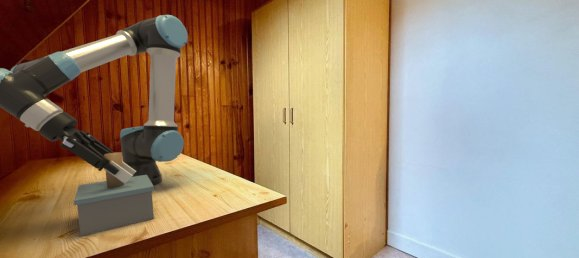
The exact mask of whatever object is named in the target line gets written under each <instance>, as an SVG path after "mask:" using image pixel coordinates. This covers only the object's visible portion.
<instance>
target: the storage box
mask: <svg viewBox="0 0 579 258" xmlns="http://www.w3.org/2000/svg"><path fill="white" fill-rule="evenodd" d="M76 207H77V215H78V225H79V233H80V235H79V236H80V237H84V236H87V235H88V236H89V235H92V234H95V233H101V232H104V231H108V230H112V229H116V228H121V227H126V226H129V225H132V224H133V225H134V224H136V223H137V224H138V223H141V222H144V221H149V220H153V219H155V215H154V214H155V213H154V201H153V191H149V192H144V193H139V194H133V195H128V196H123V197H117V198H112V199H107V200H101V201H96V202H91V203H85V204H80V205H76Z"/></svg>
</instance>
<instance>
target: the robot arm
mask: <svg viewBox="0 0 579 258" xmlns="http://www.w3.org/2000/svg"><path fill="white" fill-rule="evenodd" d="M188 39H189V37H188V31H187V28H186V27H185V25H184V24H183V23H182V21H181V20H180V19H179V18H178V17H176V16H174V15H170V14H164V15H161V14H160V15H158V16H156V17H152V18H148V19H144V20H141V21H139V22H136V23H135V24H132V25H131V26H128V27H126V28H123V29H120V30H117V32H116V33H115V34H114V35H111V36H108V37H105V38H104V37H103V38H102V39H98V40H96V41H92V42H88V43H86V44H82V45H78V46H75V47H73V48H68V49H65V50H63V51H56V52H54V53H51V54H48V55H47V56H43V57H40V58H37V59H33V60H30V61H26V62H23V63H18V64H16V65H15V66H12V68H11V69H10V70H9V69H6V68H3V67H2V68H1V67H0V109H3V110H4V111H5V112H7V113H9V114H10V115H12V116H13V117H14V118H16V119H18V120H19V121H20V122H22V123H24V127H26V128H31V129H32V130H33V131H37V132H39V135H41V137H44V138H45V139H47V140H48V141H50V142H57V141H59V140H60V141H62V142H61V144H59V145H60V147H61V148H64V149H66V150H68V151H70V152H71V153H72V154H74V155H75V156H76V157H78V158H80V159H81V160H82V161H85V162H86V163H88V164H89V165H90V166H91V167H93V168H95V169H97V171H99V172H102V170H106V171H107V172H109V173H110V174H112V175H113V176H115V177H116V178H117V179H119V180H120V181H122V182H123V183H126V182H127V181H128V180H129V179H130V178H131V177H135V176H141V175H147V176H148V178H149V179H150V181H151V183H152V184H153V186H156V185H158V184H161V182H162V181H163V176H162V173H161V170H160V169H159V166H158V164H157V162H158V163H159V162H160V163H162V162H163V163H164V162H165V163H166V162H167V163H168V162H171V161H174V160H176V159H177V158H178V157H179V156H180V155H181V154H182V151H183V150H184V144H185V140H184V138H183V136H182V134H181V133H180V132H179V130H178V129H179V126H178V124H177V123H175V102H176V100H175V97H176V96H175V95H176V70H177V67H176V66H177V59H178V58H180V57H181V53H182V52H181V50H182V48H183V47H184V46H185V45H186V44H187V42H188ZM143 53H148V54H149V56H150V68H149V69H150V70H149V71H150V73H149V75H150V76H149V100H148V101H149V102H148V120H147V121H146V122H145V123H144V124H143V125H142V126H135V127H127V128H126V127H125V128H122V129H121V131H120V133H119V135H120V136H119V138H120V139H119V140H120V146H121V147H120V148H121V153H122V165H123V168H122V167H120V166H119V165H118V164H116V163H115V162H113V161H111V162H110V161H109V160H108V159H107V158H106V157H104V155H105V154H108V153H116V152H115V151H113V150H112V149H111V148H109V147H108V146H106V145H105V144H104V143H103V142H101V141H99V140H98V139H97V138H95V136H93V135H92V134H91V133H90V132H88V131H87V132H85V131H83V130H80V129H77V128H76V126H77V124H78V120H77V119H76V118H75V117H73V116H72V115H70V114H69V113H68V112H65V111H64V110H63V108H61V107H60V106H59V105H57V104H56V103H54V102H52V101H51V100H50V99H49V98H47V97H46V96H48V95H49V94H50V93H53V92H54V91H56V90H57V89H59V88H61V87H62V86H64V85H66V84H67V83H69V82H72V81H73V80H74V79H75V78H77V77H79V75H80V74H81V73H83V72H86V71H88V70H91V69H94V68H97V67H99V66H102V65H104V64H107V63H110V62H112V61H115V60H117V59H121V58H123V57H126V56H130V57H135V56H137V55H139V54H140V55H141V54H143ZM109 162H110V163H109ZM106 171H105V172H106Z"/></svg>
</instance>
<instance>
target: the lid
mask: <svg viewBox="0 0 579 258" xmlns="http://www.w3.org/2000/svg"><path fill="white" fill-rule="evenodd" d="M104 157H106V158H107V159H108V160H109V161H110V162H111V161H113V162H115V163H116V164H118V165H119V166H120V167H122V168H123V165H122V161H123V160H122V152H115V153H108V154H105V155H104ZM110 162H109V163H110ZM149 191H152V192H154V191H155V185H153V184H152V183H151V181H150V179H149V178H148V176H147V175H141V176H135V177H131V178H130V179H129V180H128V181H127V182H126V183H123V182H122V181H120V180H119V179H117V178H116V177H115V176H113V175H112V174H110V173H109V172H107V171H106V170H105V180H102V181H97V182H90V183H84V184H79V185H78V187H77V191H76V193H75V196H74V200H73V203H74V206H77V205H80V204H85V203H91V202H96V201H101V200H107V199H112V198H117V197H123V196H128V195H133V194H139V193H144V192H149Z"/></svg>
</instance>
